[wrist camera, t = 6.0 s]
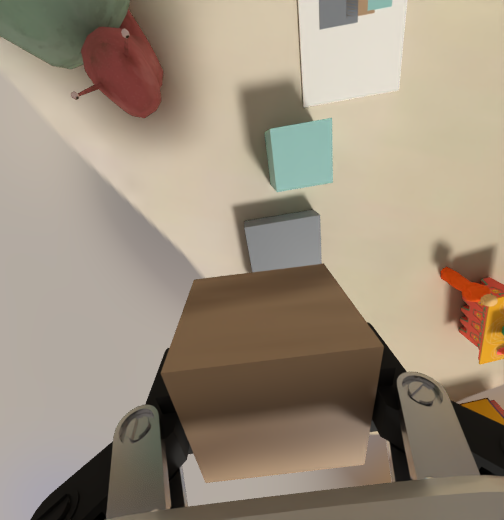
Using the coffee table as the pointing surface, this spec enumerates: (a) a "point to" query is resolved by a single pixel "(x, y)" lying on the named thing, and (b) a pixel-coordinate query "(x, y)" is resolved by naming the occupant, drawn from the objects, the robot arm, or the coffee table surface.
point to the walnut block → (273, 374)
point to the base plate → (284, 241)
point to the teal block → (300, 155)
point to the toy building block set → (482, 328)
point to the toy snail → (89, 46)
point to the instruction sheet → (350, 48)
